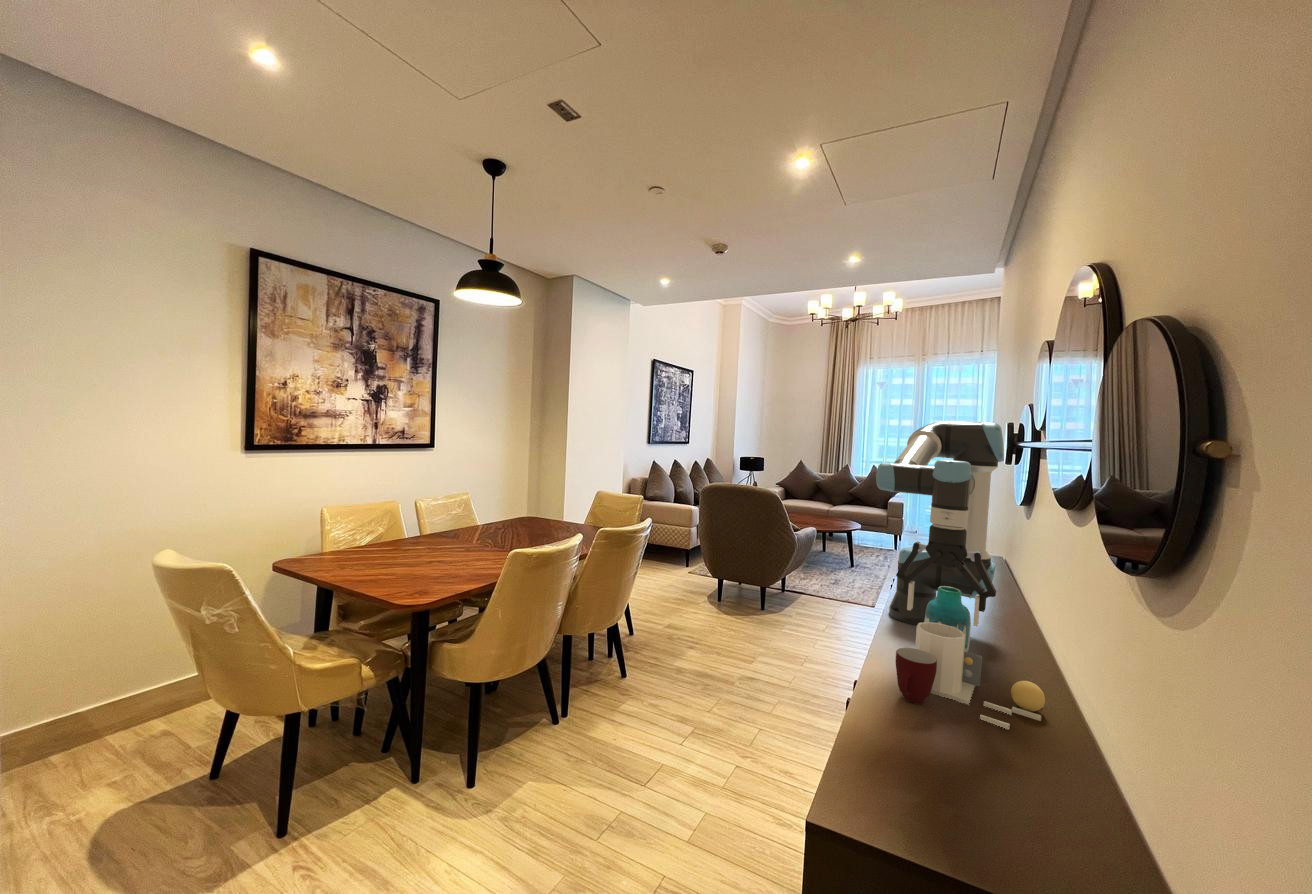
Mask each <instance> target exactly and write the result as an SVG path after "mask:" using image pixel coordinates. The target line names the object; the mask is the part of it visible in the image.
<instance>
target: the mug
mask: <svg viewBox="0 0 1312 894" xmlns="http://www.w3.org/2000/svg"><path fill="white" fill-rule="evenodd" d="M895 670H896V679H897V680H896V681H897V686H898V688H899V689H898V690H899V691H900V693H901V695H902V697H903V699H904V700H905V701H906V702H908V703H911V704H914V705H922V704H924V703H925V701H926V700H927V699H928V698H929V696H930V694H932V693H931V690H932V686H933V683H934V679H935V675H936V670H937V659H936V658H935V657H934V656H933V655H931V654H929V653H927V652H925V651H922V650H918V649H915V648H914V647H913V648H912V647H901V648H897V649H896V652H895Z"/></svg>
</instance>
